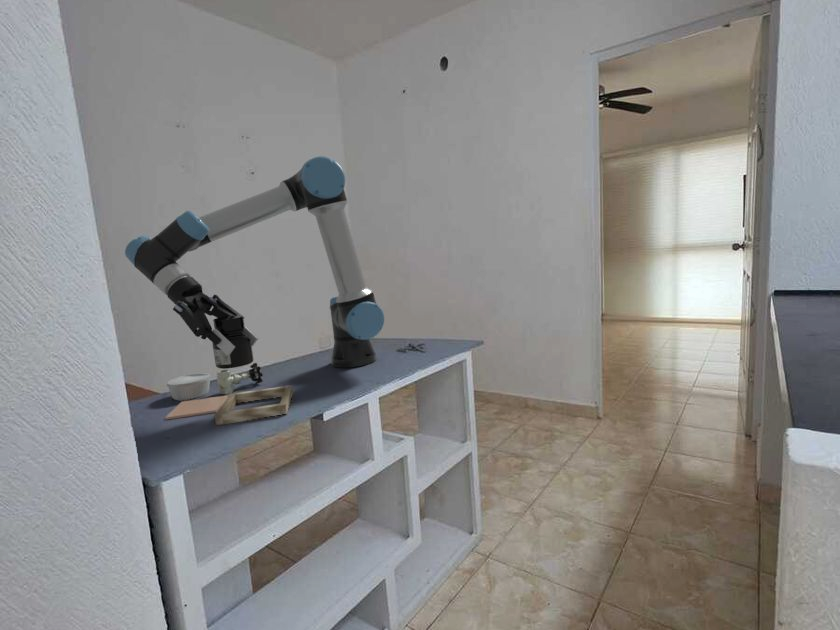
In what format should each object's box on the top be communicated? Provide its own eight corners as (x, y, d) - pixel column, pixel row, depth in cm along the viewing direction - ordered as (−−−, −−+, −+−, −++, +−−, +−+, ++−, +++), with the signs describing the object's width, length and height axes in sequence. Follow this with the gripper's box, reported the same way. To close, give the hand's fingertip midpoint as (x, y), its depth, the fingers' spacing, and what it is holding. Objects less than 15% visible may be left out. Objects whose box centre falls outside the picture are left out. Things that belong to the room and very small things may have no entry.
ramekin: (216, 387, 133) (214, 370, 132) (207, 398, 122) (204, 380, 122) (177, 392, 131) (174, 375, 130) (163, 405, 120) (160, 386, 119)
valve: (224, 397, 123) (264, 385, 131) (220, 374, 122) (261, 364, 130) (215, 393, 127) (254, 381, 136) (211, 371, 126) (251, 361, 134)
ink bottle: (213, 364, 111) (205, 318, 109) (248, 357, 116) (242, 313, 114) (219, 372, 103) (212, 322, 101) (258, 364, 108) (251, 316, 106)
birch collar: (293, 393, 119) (291, 385, 119) (287, 414, 104) (285, 404, 104) (231, 402, 117) (230, 393, 116) (216, 425, 101) (214, 415, 101)
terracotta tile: (227, 397, 122) (227, 395, 122) (216, 412, 110) (216, 410, 110) (181, 403, 120) (181, 401, 119) (165, 419, 108) (165, 417, 108)
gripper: (202, 292, 120) (260, 347, 119) (135, 303, 100) (205, 369, 98) (215, 272, 118) (275, 327, 117) (150, 278, 98) (222, 346, 96)
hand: (243, 346), depth 108 cm, fingers closed on ink bottle, 9 cm apart
